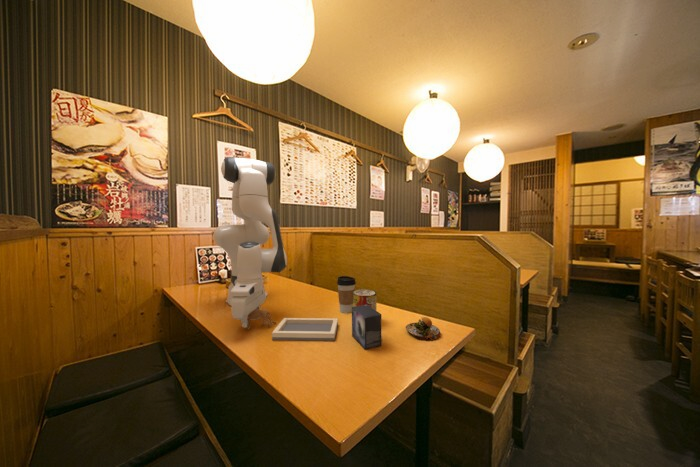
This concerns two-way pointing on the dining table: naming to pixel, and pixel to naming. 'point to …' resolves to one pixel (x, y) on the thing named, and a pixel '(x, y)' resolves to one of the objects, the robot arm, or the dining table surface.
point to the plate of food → (424, 329)
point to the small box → (366, 326)
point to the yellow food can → (364, 298)
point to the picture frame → (306, 329)
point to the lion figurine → (260, 314)
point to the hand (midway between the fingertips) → (251, 321)
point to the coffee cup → (346, 293)
